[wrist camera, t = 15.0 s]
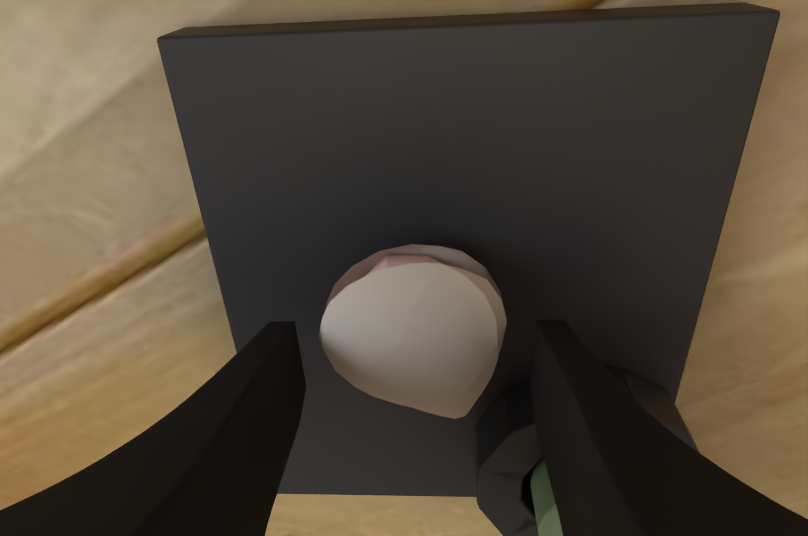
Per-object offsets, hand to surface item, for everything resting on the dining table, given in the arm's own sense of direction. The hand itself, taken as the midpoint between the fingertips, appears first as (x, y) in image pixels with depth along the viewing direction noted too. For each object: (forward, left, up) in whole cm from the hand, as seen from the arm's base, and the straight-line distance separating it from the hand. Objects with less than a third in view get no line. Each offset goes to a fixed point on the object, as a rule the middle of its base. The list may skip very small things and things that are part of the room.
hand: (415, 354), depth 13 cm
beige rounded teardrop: (0, 0, -2) cm, 2 cm away
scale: (0, -1, -3) cm, 3 cm away
